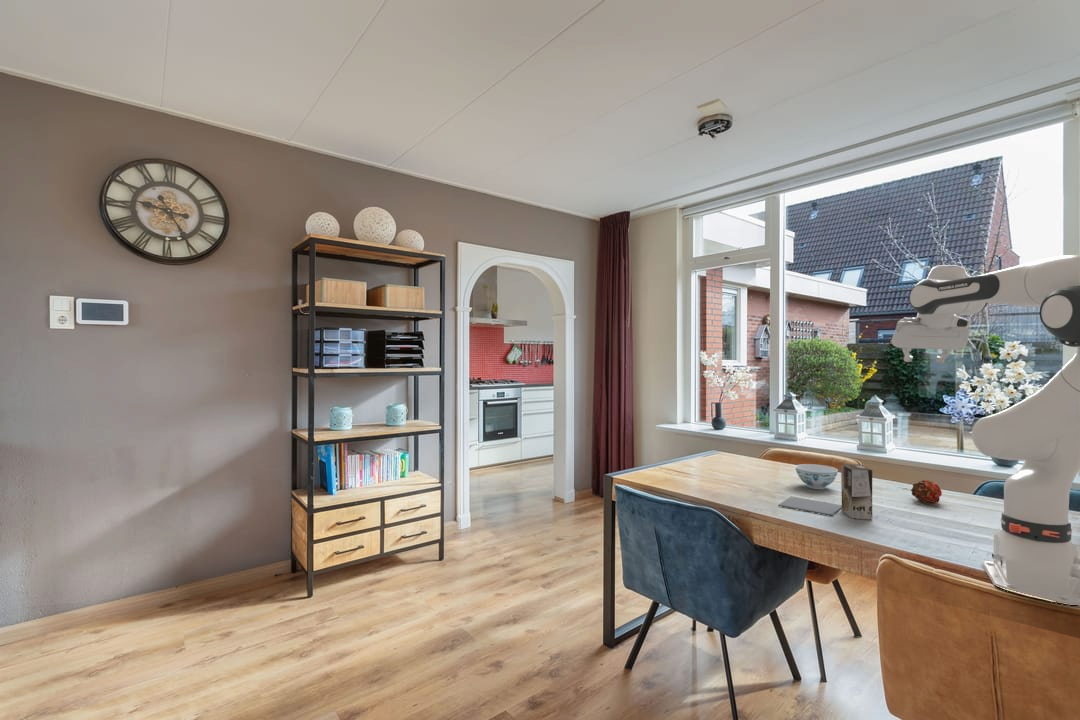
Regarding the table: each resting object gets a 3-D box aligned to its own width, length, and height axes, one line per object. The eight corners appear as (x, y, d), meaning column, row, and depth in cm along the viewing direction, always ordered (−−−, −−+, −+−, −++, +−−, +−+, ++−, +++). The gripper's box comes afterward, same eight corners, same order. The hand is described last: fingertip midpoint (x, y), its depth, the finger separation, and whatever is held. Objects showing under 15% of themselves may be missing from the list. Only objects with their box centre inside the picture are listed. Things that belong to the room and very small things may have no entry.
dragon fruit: (923, 510, 178) (924, 507, 188) (948, 498, 175) (947, 496, 184) (905, 488, 182) (907, 486, 192) (930, 476, 179) (930, 475, 188)
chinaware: (825, 482, 212) (824, 464, 212) (845, 492, 197) (845, 472, 197) (788, 482, 212) (788, 464, 212) (806, 492, 197) (806, 472, 197)
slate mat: (832, 516, 168) (832, 514, 168) (778, 506, 179) (778, 504, 179) (843, 507, 178) (843, 505, 178) (791, 498, 189) (791, 496, 189)
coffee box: (873, 519, 164) (873, 470, 164) (851, 518, 165) (851, 469, 165) (861, 511, 173) (861, 464, 173) (840, 510, 174) (840, 463, 174)
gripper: (905, 319, 151) (894, 363, 156) (977, 322, 150) (964, 366, 154) (892, 315, 157) (882, 357, 162) (962, 317, 156) (950, 360, 160)
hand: (923, 361), depth 158 cm, fingers open, 8 cm apart
